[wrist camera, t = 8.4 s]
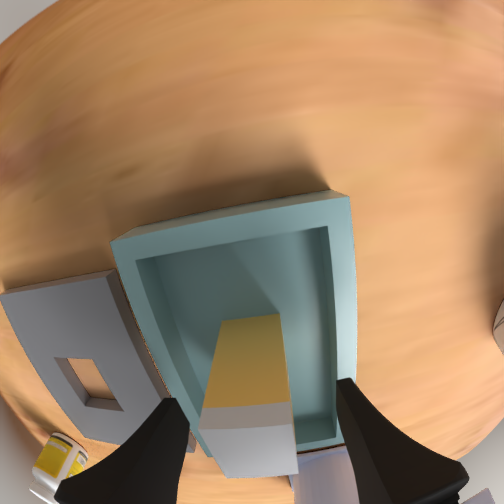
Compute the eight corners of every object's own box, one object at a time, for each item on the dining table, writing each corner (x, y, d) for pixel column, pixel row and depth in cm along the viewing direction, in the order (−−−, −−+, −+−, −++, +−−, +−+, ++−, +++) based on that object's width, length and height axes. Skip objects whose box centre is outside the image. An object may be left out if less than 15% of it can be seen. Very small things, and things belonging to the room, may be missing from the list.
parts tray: (342, 413, 17) (350, 441, 15) (212, 429, 18) (207, 457, 16) (331, 189, 13) (349, 196, 10) (135, 227, 14) (109, 241, 11)
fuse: (287, 370, 15) (298, 473, 8) (237, 376, 15) (226, 478, 9) (279, 313, 14) (292, 423, 7) (221, 320, 14) (197, 429, 7)
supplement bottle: (47, 432, 22) (18, 482, 13) (62, 429, 21) (30, 487, 12) (78, 457, 23) (54, 508, 14) (96, 456, 22) (71, 515, 13)
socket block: (196, 441, 19) (194, 452, 18) (89, 429, 20) (85, 437, 19) (115, 268, 14) (105, 276, 13) (7, 289, 15) (-2, 295, 14)
